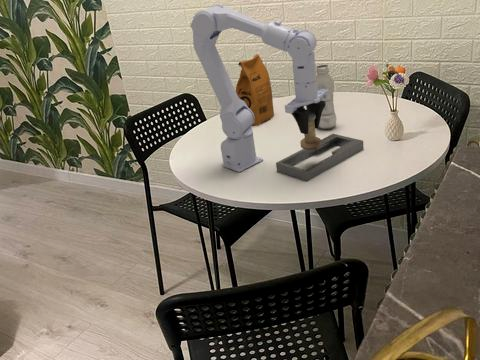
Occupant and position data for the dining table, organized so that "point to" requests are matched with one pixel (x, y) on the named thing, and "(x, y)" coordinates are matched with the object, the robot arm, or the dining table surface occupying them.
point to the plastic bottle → (328, 84)
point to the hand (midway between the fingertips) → (309, 130)
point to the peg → (311, 135)
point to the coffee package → (256, 89)
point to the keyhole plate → (338, 155)
